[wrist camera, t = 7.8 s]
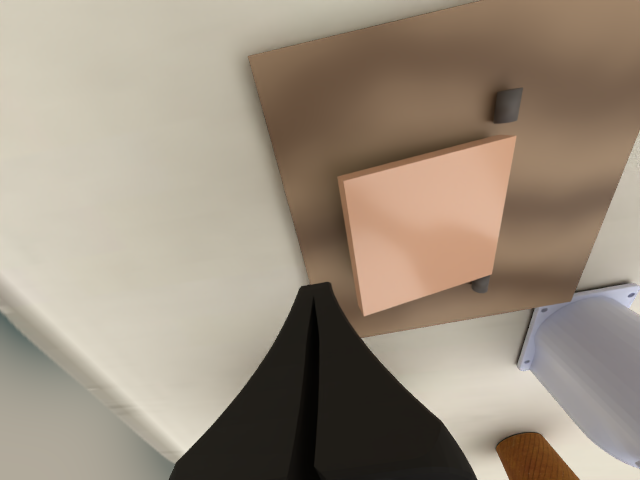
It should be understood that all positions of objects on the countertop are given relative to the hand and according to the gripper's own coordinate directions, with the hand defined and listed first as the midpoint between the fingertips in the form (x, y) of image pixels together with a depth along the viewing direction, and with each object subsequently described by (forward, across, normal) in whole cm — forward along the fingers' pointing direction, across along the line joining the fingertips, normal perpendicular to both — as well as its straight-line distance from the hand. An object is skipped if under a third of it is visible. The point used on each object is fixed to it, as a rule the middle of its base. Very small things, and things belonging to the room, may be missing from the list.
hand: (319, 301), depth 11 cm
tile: (+6, -11, 0) cm, 12 cm away
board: (+7, -9, 0) cm, 11 cm away
